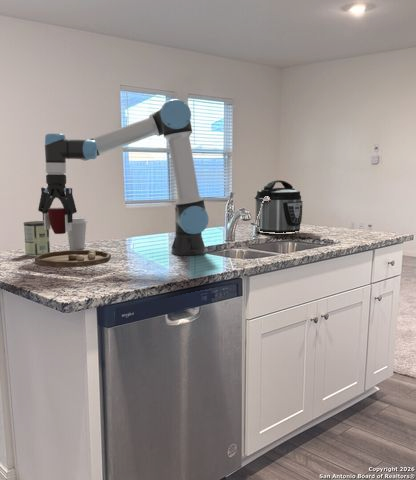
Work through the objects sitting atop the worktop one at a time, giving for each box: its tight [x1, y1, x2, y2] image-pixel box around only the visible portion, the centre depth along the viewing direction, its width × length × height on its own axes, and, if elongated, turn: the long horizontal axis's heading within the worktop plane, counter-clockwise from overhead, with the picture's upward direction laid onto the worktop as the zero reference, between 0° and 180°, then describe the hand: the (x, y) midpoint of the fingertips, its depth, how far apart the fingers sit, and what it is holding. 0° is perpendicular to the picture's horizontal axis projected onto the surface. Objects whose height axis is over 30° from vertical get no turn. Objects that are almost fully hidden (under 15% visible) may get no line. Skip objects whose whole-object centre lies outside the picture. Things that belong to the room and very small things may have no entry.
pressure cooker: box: [254, 179, 303, 233], centre depth 286 cm, size 30×28×32 cm
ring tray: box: [34, 249, 112, 268], centre depth 188 cm, size 28×28×3 cm
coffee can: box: [23, 220, 51, 257], centre depth 206 cm, size 10×10×14 cm
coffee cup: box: [66, 216, 88, 250], centre depth 217 cm, size 10×10×15 cm
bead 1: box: [76, 255, 84, 262], centre depth 182 cm, size 3×3×3 cm
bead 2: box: [88, 253, 95, 260], centre depth 186 cm, size 3×3×3 cm
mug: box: [48, 207, 67, 235], centre depth 189 cm, size 11×8×10 cm
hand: (57, 230), depth 190 cm, fingers closed on mug, 10 cm apart
